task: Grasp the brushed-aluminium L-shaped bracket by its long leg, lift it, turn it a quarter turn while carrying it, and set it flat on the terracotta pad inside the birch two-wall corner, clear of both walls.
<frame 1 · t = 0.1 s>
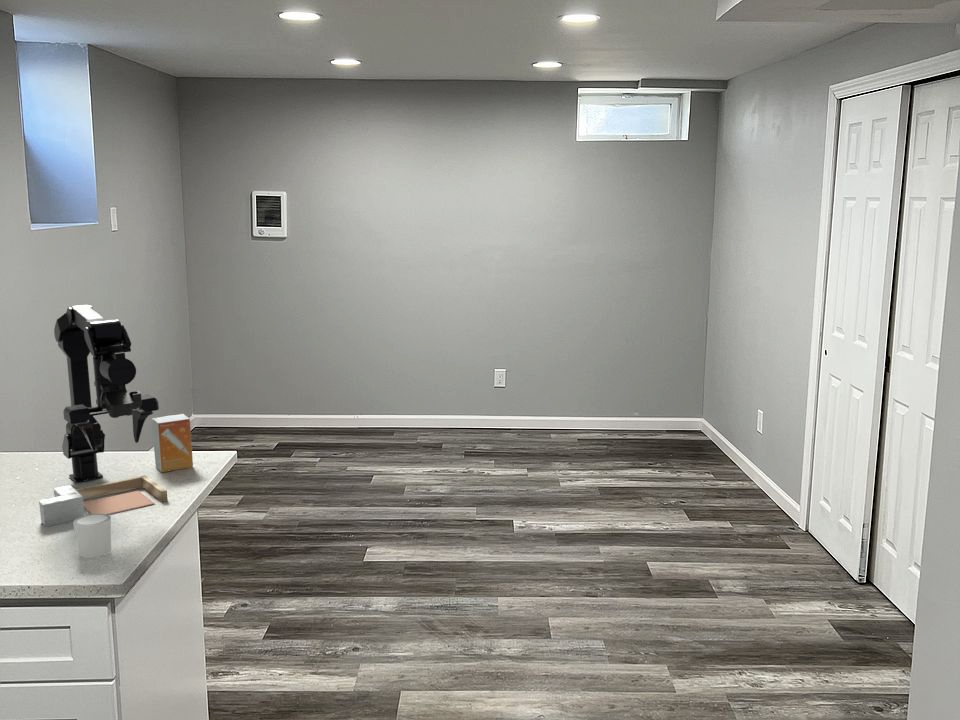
hand: (115, 446, 199), 15 cm above the countertop, fingers open, 9 cm apart
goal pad: (117, 504, 205), on the countertop
shot glass: (95, 553, 178), on the countertop
tan corner rail: (116, 503, 205), on the countertop
bracket: (70, 513, 199), on the countertop
small box: (174, 467, 232), on the countertop
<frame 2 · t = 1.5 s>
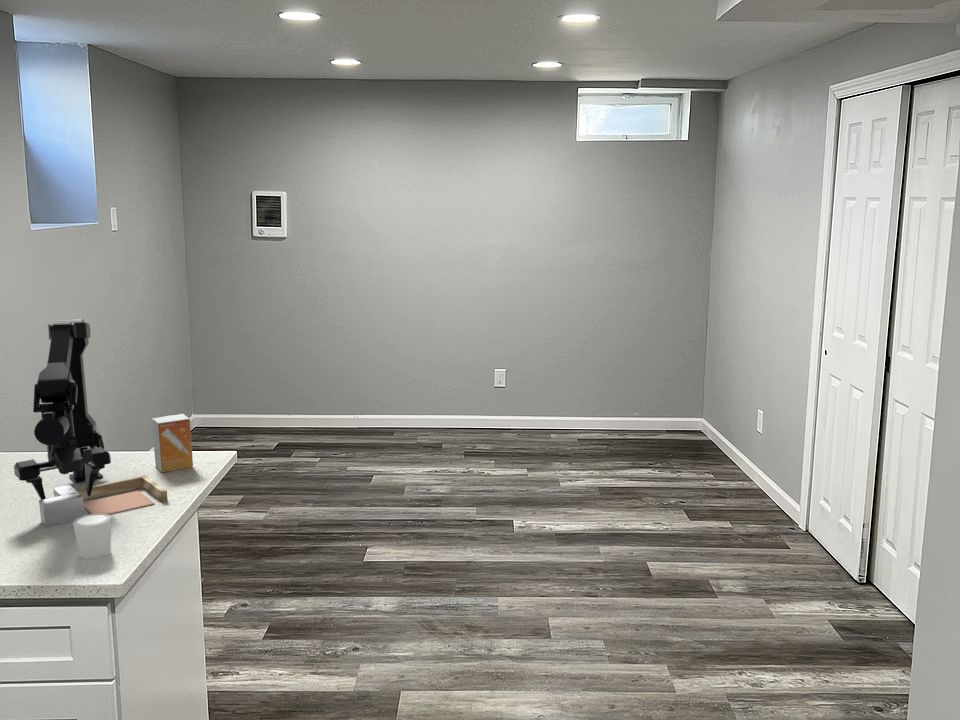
hand: (67, 500, 200), 3 cm above the countertop, fingers open, 9 cm apart
nothing on the countertop moved.
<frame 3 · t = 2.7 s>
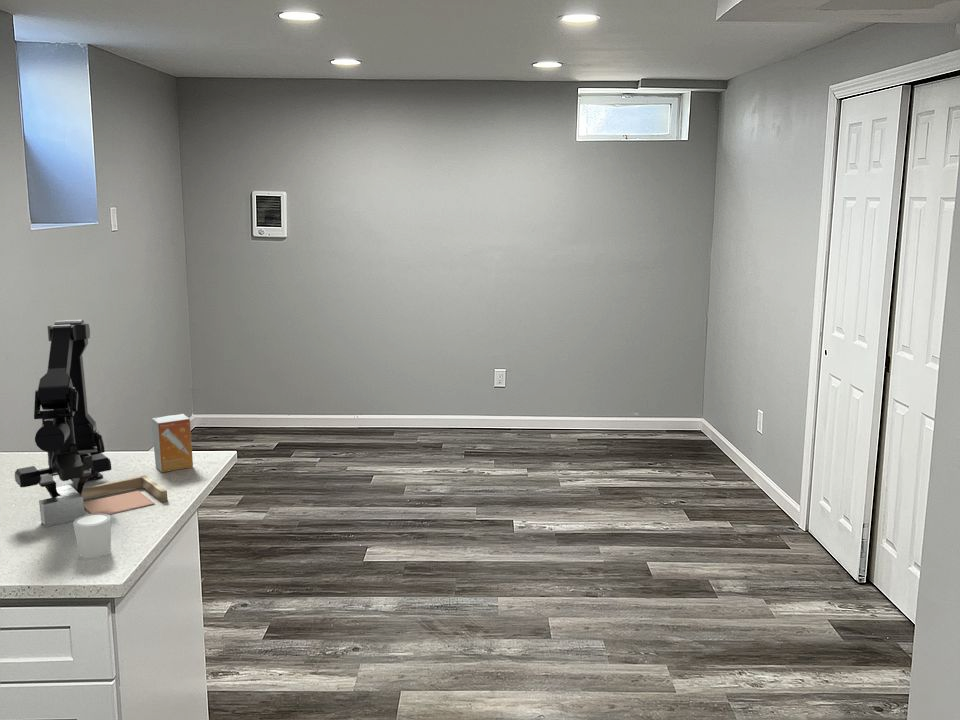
hand: (67, 506, 200), 1 cm above the countertop, fingers closed on bracket, 3 cm apart
bracket: (70, 513, 199), on the countertop, touching gripper
everything else where it was.
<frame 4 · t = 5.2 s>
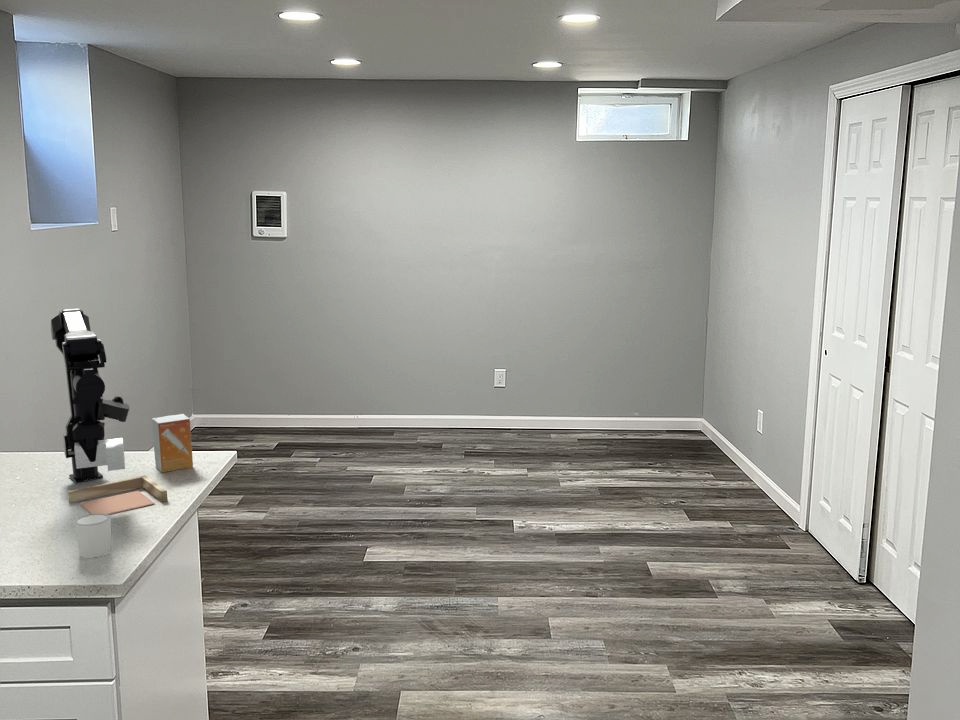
hand: (93, 459, 202), 11 cm above the countertop, fingers closed on bracket, 3 cm apart
bracket: (100, 463, 203), point 10 cm above the countertop, touching gripper
everything else where it was.
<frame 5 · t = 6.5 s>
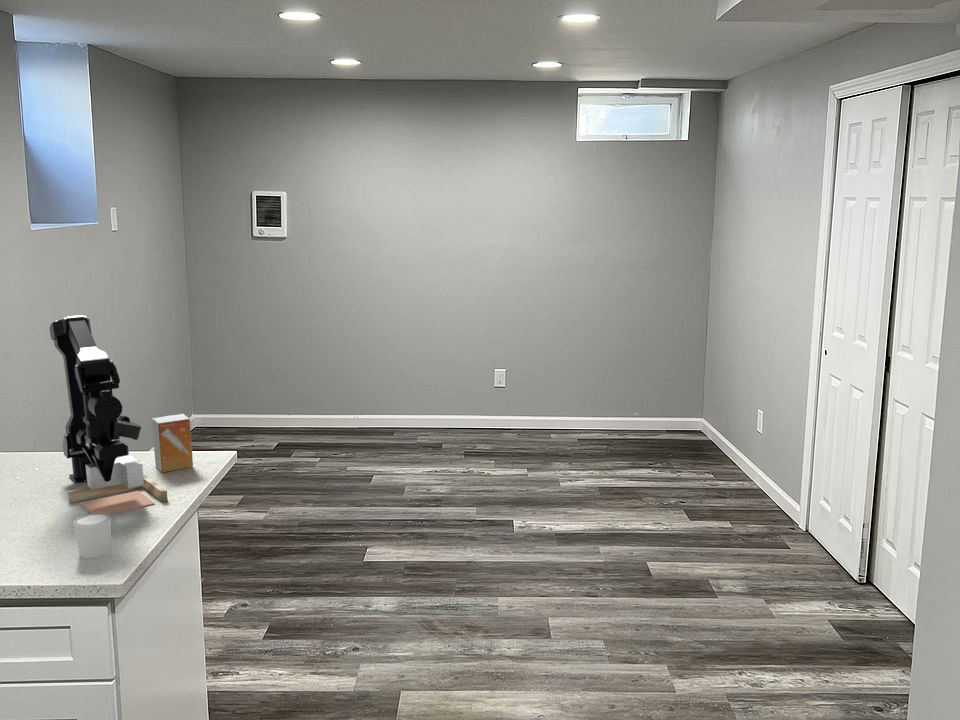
hand: (105, 479, 205), 6 cm above the countertop, fingers closed on bracket, 3 cm apart
bracket: (112, 482, 206), point 5 cm above the countertop, touching gripper
everything else where it was.
when the fingers open (3 cm above the countertop, at t = 7.7 s): bracket drops 1 cm, resting on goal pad.
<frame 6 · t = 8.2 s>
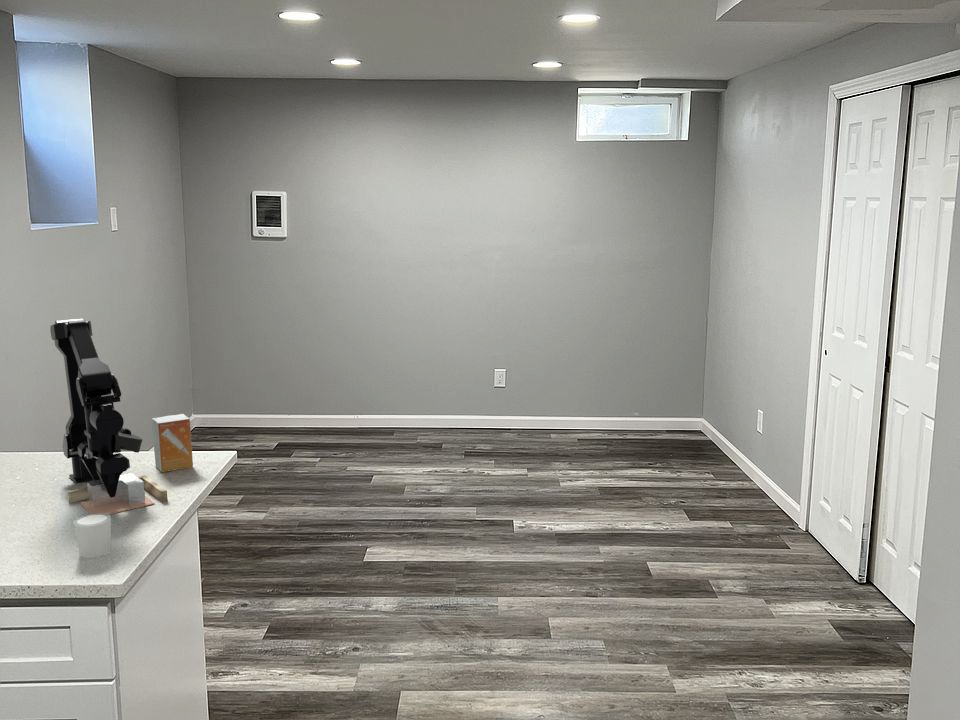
hand: (106, 491, 205), 3 cm above the countertop, fingers open, 9 cm apart
bracket: (114, 500, 207), resting on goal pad
everything else where it was.
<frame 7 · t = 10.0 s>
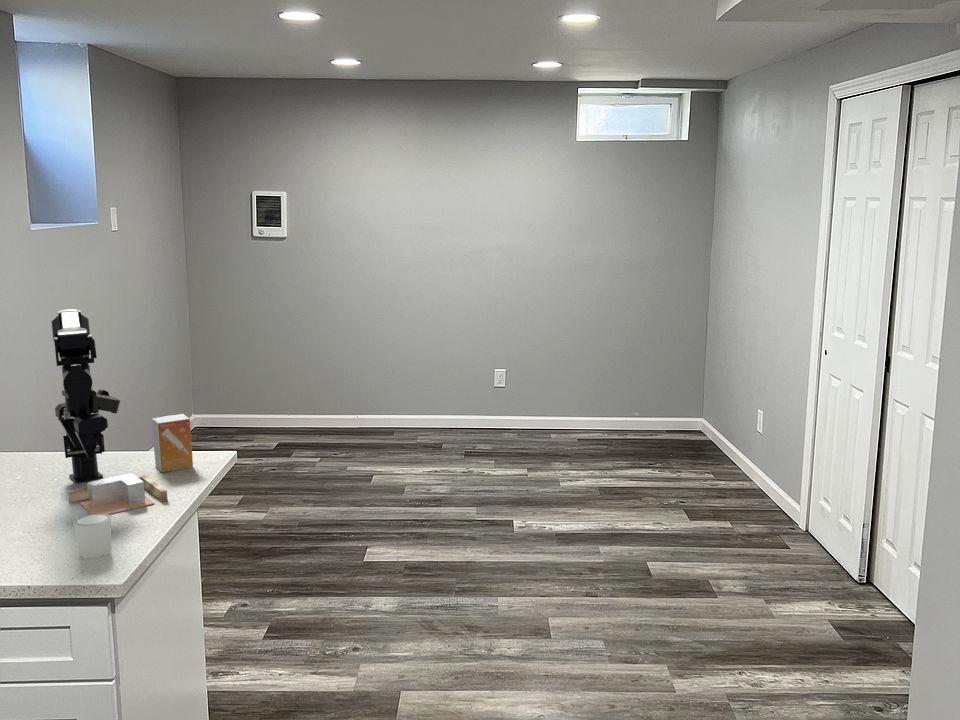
hand: (84, 452, 206), 11 cm above the countertop, fingers open, 9 cm apart
nothing on the countertop moved.
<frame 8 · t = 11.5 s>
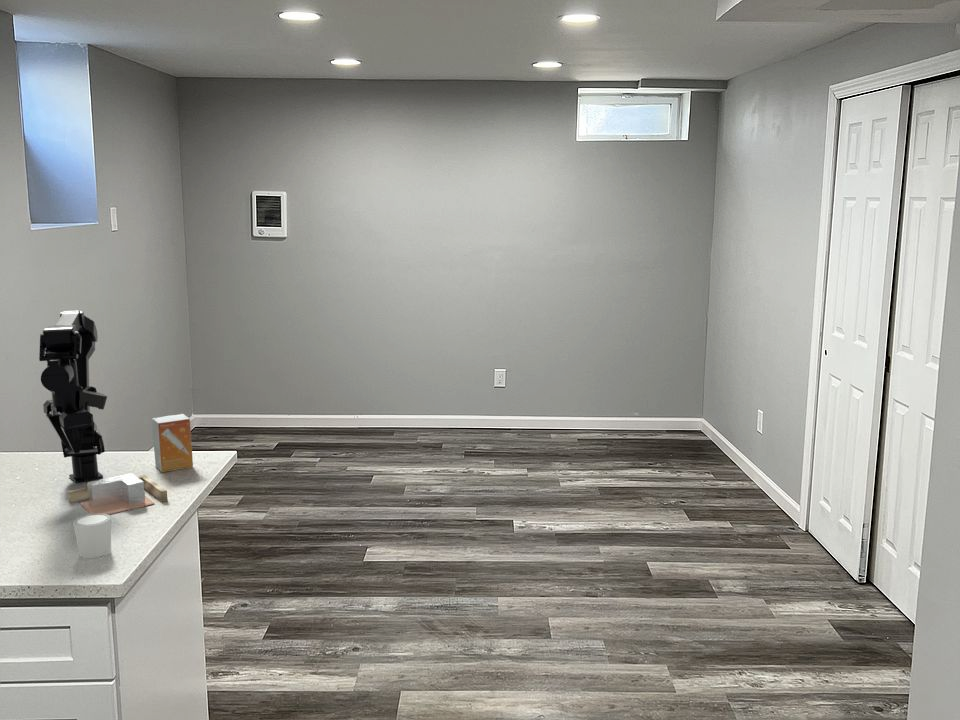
hand: (71, 448, 207), 12 cm above the countertop, fingers open, 9 cm apart
nothing on the countertop moved.
at the end: bracket 0.0 cm from the target spot on the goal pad, point 0.3 cm above the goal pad's base; bracket tilted 0°; bracket touching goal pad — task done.
